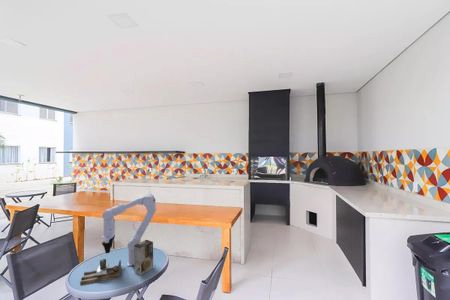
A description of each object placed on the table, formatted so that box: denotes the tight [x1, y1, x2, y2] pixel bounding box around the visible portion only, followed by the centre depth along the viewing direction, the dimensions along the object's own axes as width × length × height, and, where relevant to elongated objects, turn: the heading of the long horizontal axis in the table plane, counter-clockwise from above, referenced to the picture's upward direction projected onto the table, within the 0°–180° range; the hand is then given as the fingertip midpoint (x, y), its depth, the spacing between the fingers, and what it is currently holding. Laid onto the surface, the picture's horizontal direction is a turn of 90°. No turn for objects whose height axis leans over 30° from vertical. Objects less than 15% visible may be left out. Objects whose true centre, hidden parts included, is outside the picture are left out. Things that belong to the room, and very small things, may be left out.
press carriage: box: [96, 258, 110, 276], centre depth 122 cm, size 5×8×6 cm, turn 20°
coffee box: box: [134, 239, 154, 276], centre depth 128 cm, size 9×6×16 cm
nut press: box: [79, 259, 122, 286], centre depth 122 cm, size 19×10×6 cm, turn 110°
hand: (108, 250), depth 134 cm, fingers open, 7 cm apart
